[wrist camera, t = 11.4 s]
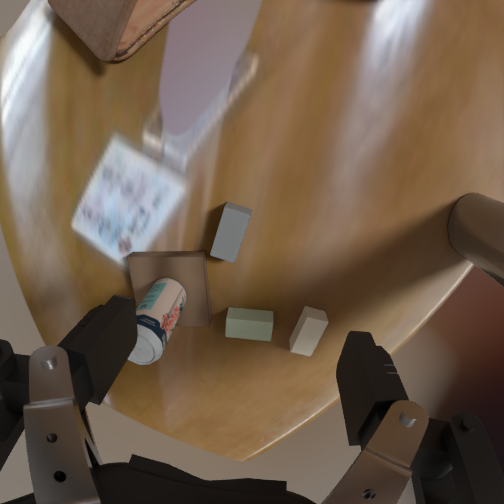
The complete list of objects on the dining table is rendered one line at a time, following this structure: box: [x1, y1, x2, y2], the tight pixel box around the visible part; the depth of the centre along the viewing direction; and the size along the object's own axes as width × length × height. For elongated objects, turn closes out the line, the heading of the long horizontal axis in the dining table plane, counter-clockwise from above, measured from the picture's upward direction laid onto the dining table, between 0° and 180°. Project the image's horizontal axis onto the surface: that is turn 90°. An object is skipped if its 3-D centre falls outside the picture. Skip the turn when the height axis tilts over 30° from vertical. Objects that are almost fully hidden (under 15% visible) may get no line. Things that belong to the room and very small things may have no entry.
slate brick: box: [210, 202, 252, 263], centre depth 36 cm, size 6×3×3 cm, turn 162°
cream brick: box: [289, 306, 329, 357], centre depth 40 cm, size 6×3×3 cm, turn 163°
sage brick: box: [225, 307, 273, 341], centre depth 40 cm, size 6×3×3 cm, turn 85°
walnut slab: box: [127, 251, 212, 327], centre depth 39 cm, size 10×10×2 cm
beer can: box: [128, 278, 187, 365], centre depth 33 cm, size 5×5×12 cm
